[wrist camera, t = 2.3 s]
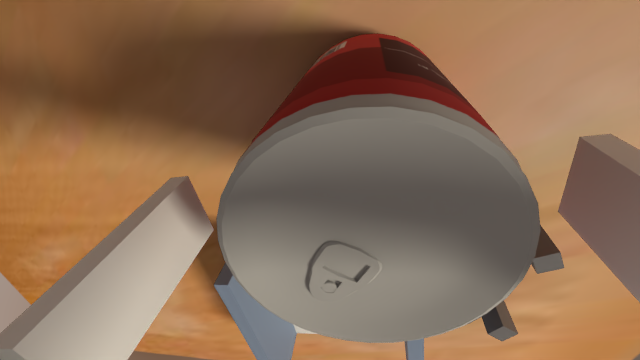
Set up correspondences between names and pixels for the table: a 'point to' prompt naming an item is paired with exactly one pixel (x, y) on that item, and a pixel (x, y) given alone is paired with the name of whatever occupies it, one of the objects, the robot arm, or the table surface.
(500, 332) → the clip
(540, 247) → the clip
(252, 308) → the holder
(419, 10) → the table surface
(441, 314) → the canned food
